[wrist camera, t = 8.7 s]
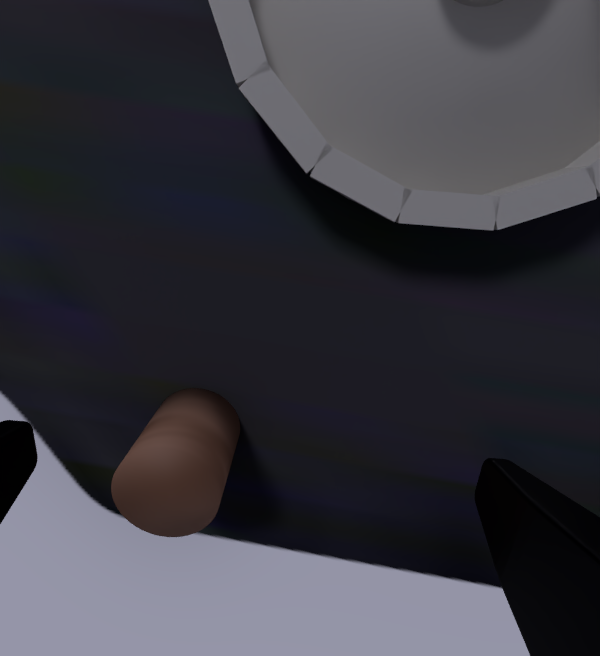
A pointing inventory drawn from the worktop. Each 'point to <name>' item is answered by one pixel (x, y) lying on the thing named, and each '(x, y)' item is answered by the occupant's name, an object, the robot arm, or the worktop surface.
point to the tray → (429, 101)
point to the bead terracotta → (178, 465)
